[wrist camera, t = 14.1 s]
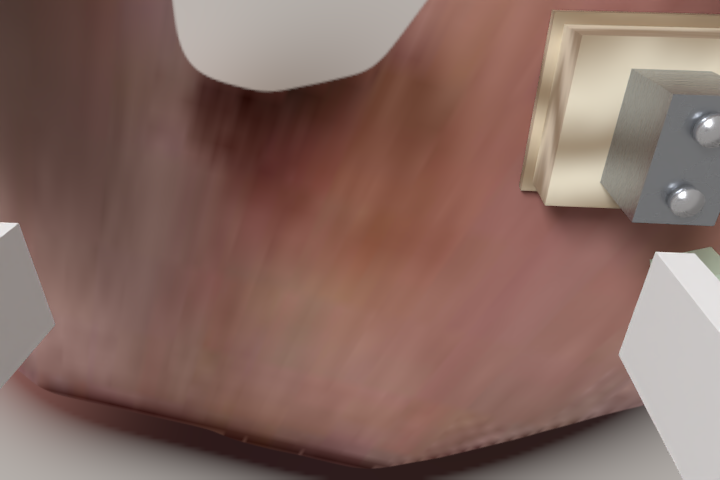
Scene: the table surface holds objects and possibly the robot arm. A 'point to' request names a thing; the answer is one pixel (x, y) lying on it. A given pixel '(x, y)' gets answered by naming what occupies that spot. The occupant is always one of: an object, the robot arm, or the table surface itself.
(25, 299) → the robot arm
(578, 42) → the plinth
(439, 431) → the table surface
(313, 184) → the table surface
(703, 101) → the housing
